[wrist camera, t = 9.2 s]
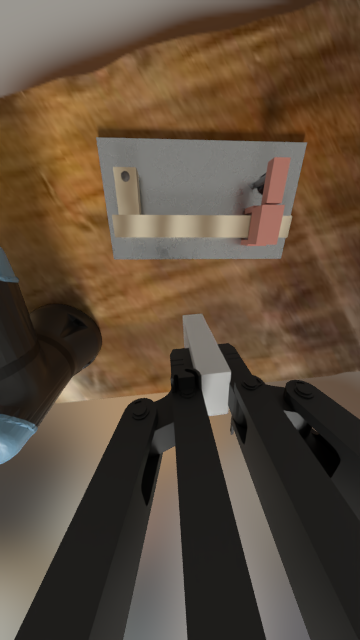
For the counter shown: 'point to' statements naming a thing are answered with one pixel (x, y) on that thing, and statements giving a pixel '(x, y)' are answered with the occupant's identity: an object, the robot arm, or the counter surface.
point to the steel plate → (195, 190)
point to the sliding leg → (268, 205)
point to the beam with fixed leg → (172, 216)
